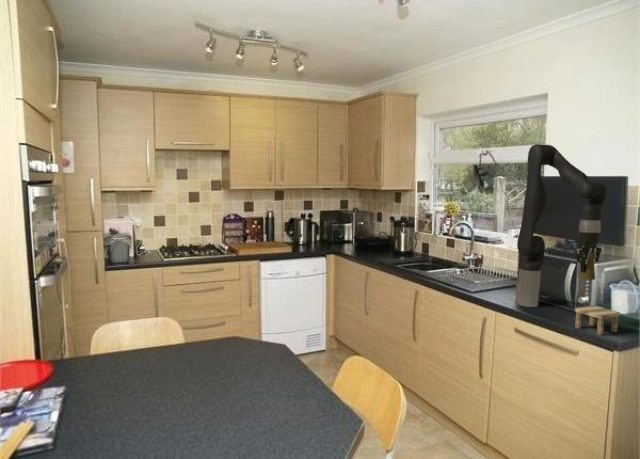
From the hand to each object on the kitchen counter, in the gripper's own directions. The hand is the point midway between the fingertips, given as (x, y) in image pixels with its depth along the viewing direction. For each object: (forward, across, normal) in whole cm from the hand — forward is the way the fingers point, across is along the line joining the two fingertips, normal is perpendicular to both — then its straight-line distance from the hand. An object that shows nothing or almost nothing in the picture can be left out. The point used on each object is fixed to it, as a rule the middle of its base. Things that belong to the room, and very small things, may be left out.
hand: (586, 272), depth 190 cm
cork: (+3, 0, 0) cm, 3 cm away
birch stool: (+22, +1, +6) cm, 23 cm away
